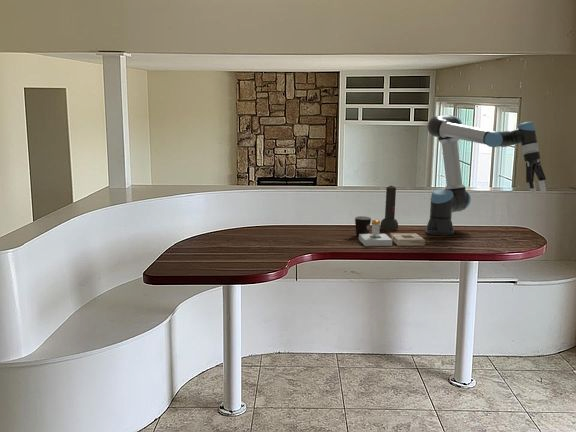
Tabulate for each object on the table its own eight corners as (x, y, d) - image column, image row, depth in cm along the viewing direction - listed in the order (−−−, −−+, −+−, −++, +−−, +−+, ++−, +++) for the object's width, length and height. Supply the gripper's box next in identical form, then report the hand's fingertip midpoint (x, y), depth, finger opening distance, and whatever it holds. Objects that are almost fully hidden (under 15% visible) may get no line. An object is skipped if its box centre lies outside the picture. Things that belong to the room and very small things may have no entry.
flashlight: (376, 228, 362) (387, 231, 353) (378, 184, 357) (390, 187, 348) (390, 226, 367) (401, 230, 358) (392, 183, 362) (404, 186, 353)
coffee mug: (360, 238, 336) (360, 220, 334) (351, 235, 344) (351, 217, 342) (378, 236, 341) (378, 218, 339) (368, 233, 349) (369, 215, 347)
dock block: (390, 239, 336) (390, 233, 335) (415, 238, 338) (416, 233, 337) (397, 245, 322) (398, 239, 322) (424, 245, 324) (424, 239, 323)
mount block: (358, 239, 334) (358, 233, 333) (384, 239, 336) (385, 233, 335) (364, 246, 320) (365, 240, 320) (392, 245, 322) (392, 240, 321)
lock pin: (370, 241, 330) (371, 219, 327) (377, 241, 330) (378, 219, 328) (372, 243, 326) (373, 221, 324) (379, 243, 326) (380, 221, 324)
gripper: (529, 151, 309) (537, 194, 309) (547, 150, 328) (554, 191, 328) (514, 154, 314) (522, 197, 314) (532, 153, 333) (540, 193, 333)
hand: (538, 194), depth 321 cm, fingers open, 13 cm apart
